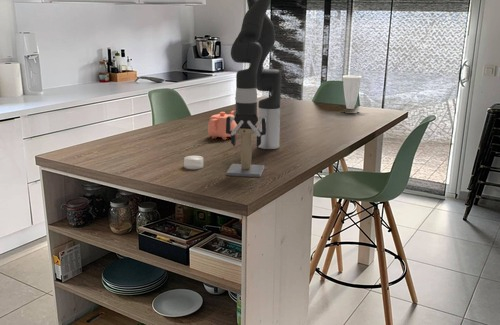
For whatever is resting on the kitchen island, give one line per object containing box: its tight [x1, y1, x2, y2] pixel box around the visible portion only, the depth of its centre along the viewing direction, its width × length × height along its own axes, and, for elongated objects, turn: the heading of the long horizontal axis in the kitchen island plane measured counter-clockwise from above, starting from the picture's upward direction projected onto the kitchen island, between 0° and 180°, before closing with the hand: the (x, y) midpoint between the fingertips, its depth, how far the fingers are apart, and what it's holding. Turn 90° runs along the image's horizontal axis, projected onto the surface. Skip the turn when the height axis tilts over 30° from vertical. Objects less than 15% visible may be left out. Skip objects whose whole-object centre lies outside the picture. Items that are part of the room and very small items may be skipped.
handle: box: [237, 128, 255, 170], centre depth 183 cm, size 5×6×15 cm
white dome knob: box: [183, 155, 204, 170], centre depth 191 cm, size 7×7×4 cm
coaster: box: [225, 163, 265, 178], centre depth 185 cm, size 12×12×1 cm
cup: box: [342, 74, 363, 110], centre depth 309 cm, size 12×12×22 cm
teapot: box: [207, 109, 238, 141], centre depth 239 cm, size 20×12×12 cm, turn 152°
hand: (246, 145), depth 183 cm, fingers open, 8 cm apart
